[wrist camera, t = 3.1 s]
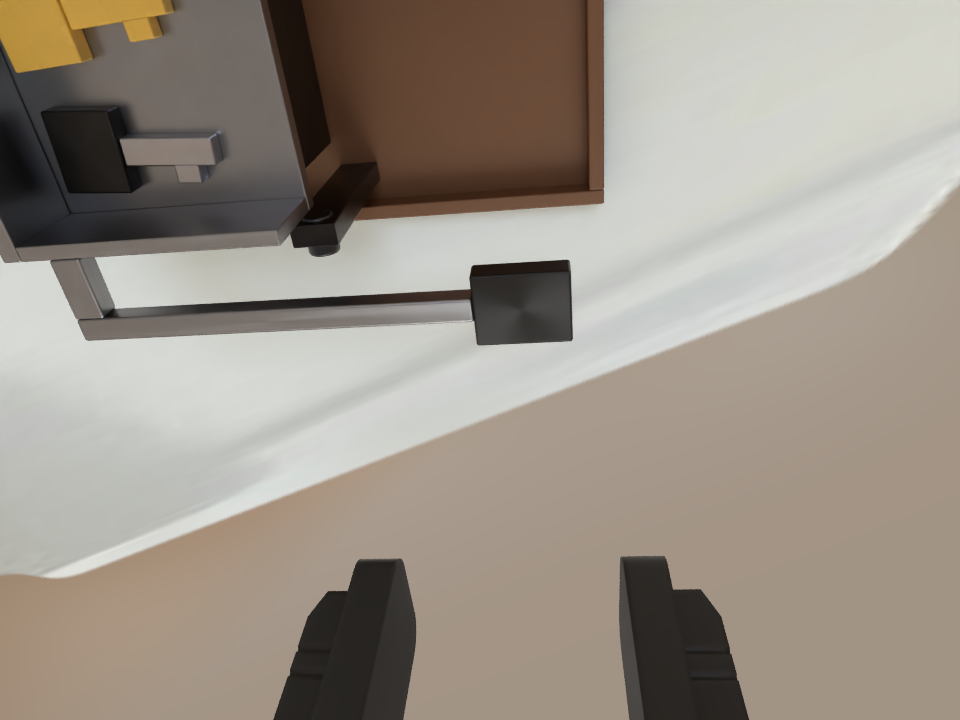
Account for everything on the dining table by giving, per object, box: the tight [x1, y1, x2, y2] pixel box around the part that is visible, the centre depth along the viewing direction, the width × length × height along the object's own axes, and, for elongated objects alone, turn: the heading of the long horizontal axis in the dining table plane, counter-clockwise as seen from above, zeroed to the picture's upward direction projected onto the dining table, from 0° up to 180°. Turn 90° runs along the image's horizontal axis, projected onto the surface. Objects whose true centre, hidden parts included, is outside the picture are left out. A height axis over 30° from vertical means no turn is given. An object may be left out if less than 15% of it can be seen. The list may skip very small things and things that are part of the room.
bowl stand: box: [267, 0, 380, 257], centre depth 24 cm, size 12×9×7 cm
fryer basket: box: [0, 0, 573, 345], centre depth 20 cm, size 13×18×4 cm
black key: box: [41, 106, 223, 193], centre depth 22 cm, size 3×5×1 cm, turn 92°
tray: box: [302, 0, 604, 221], centre depth 26 cm, size 14×20×2 cm
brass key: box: [0, 0, 174, 73], centre depth 20 cm, size 3×5×1 cm, turn 98°
